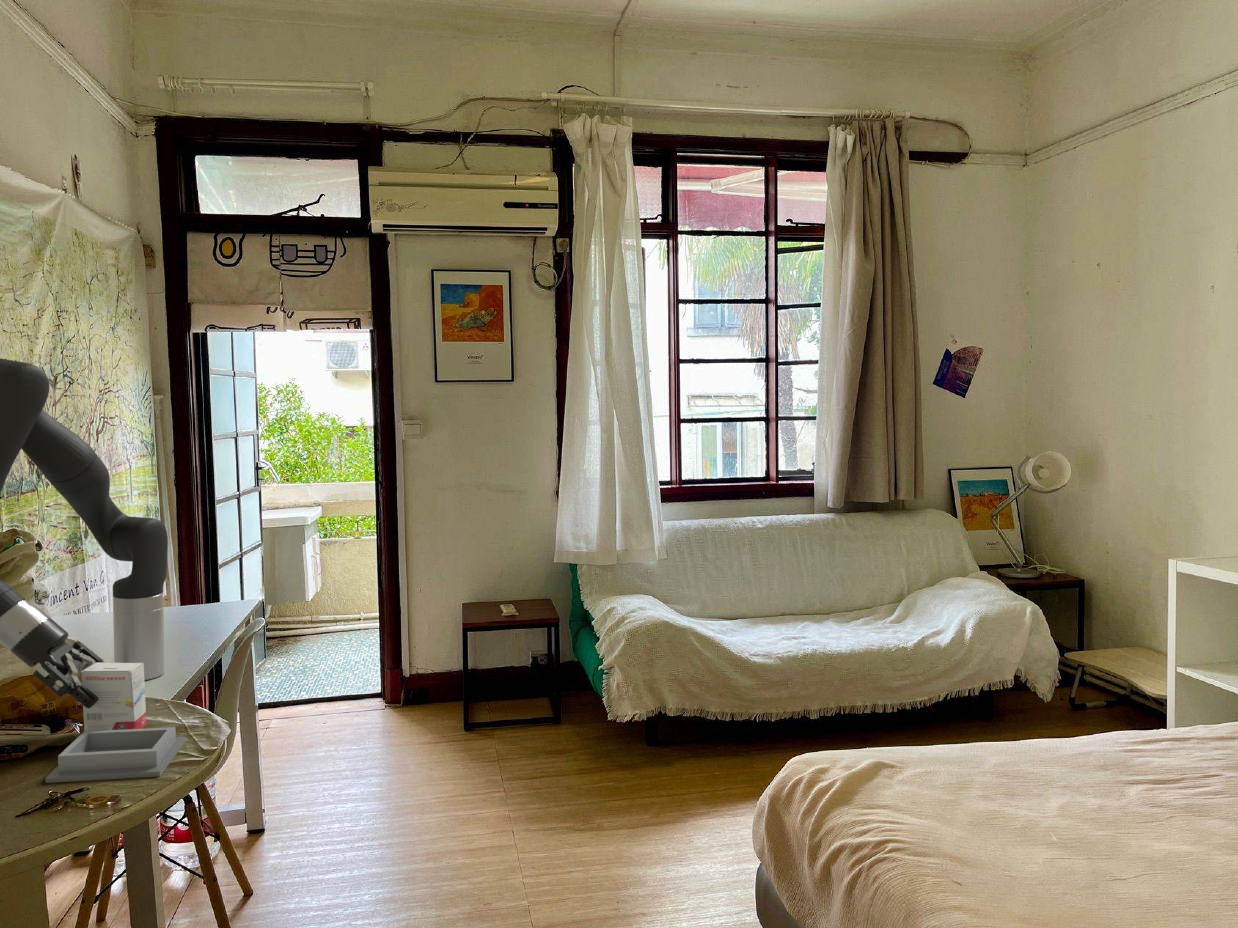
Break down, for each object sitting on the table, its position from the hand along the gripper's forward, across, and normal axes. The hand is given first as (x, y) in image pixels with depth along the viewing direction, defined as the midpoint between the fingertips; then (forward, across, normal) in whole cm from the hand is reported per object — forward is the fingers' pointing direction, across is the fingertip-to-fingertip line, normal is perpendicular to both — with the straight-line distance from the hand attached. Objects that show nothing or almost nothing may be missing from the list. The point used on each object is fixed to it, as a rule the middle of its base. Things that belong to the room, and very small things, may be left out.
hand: (104, 695), depth 152 cm
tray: (+9, -13, 0) cm, 16 cm away
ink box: (+6, 0, +4) cm, 7 cm away
